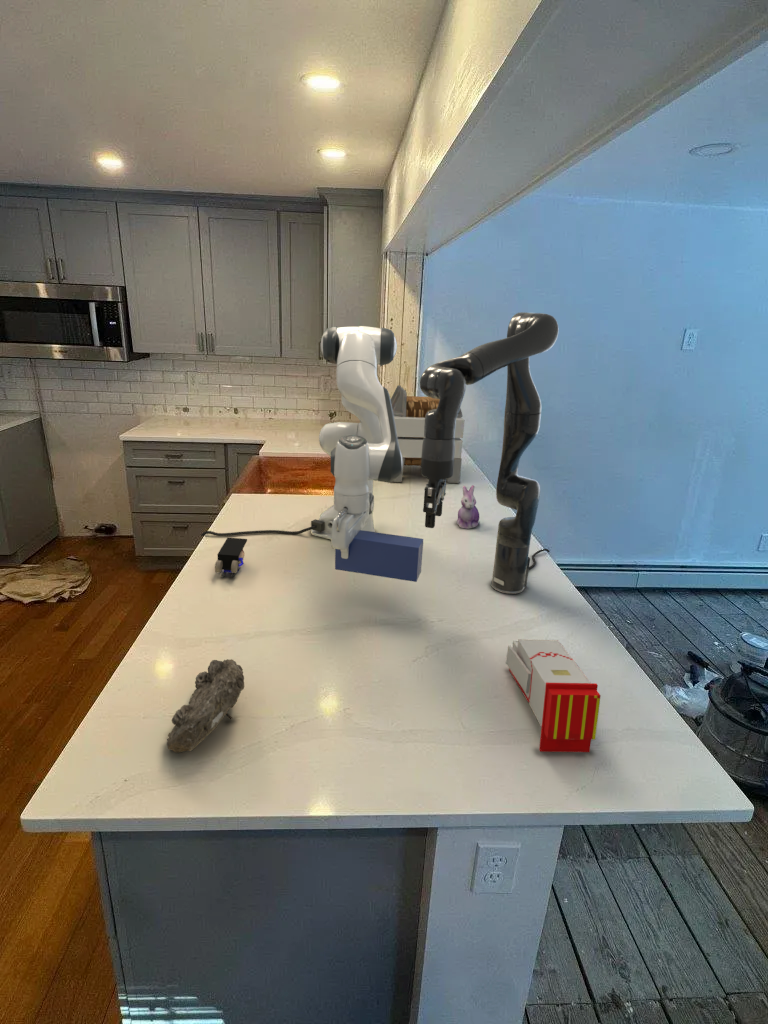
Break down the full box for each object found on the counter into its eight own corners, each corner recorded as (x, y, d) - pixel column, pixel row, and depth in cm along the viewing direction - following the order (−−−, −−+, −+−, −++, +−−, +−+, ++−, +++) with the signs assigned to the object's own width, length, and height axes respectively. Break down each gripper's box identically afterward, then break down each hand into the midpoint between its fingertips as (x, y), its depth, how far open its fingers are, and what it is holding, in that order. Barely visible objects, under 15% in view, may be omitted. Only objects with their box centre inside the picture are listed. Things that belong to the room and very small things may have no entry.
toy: (554, 622, 128) (610, 691, 98) (548, 677, 130) (601, 759, 101) (501, 621, 127) (541, 690, 98) (496, 676, 130) (534, 758, 101)
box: (334, 569, 146) (335, 535, 143) (342, 560, 152) (342, 527, 148) (416, 582, 141) (418, 547, 138) (421, 572, 147) (423, 538, 144)
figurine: (465, 531, 205) (469, 491, 200) (449, 521, 213) (452, 483, 208) (486, 527, 209) (490, 488, 204) (470, 518, 217) (473, 481, 212)
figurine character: (238, 584, 162) (249, 557, 175) (236, 562, 158) (247, 536, 172) (215, 584, 161) (227, 556, 175) (212, 561, 158) (225, 535, 171)
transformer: (382, 463, 289) (386, 382, 275) (445, 464, 293) (451, 384, 279) (390, 482, 257) (394, 392, 243) (460, 483, 261) (468, 394, 247)
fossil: (192, 660, 117) (244, 628, 112) (224, 691, 120) (276, 661, 115) (142, 746, 98) (202, 712, 93) (182, 779, 101) (242, 748, 96)
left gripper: (350, 517, 132) (349, 570, 137) (374, 491, 151) (372, 539, 155) (324, 513, 133) (324, 566, 138) (351, 488, 152) (350, 535, 157)
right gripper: (448, 465, 123) (443, 534, 129) (459, 450, 136) (454, 513, 142) (414, 461, 125) (411, 529, 131) (428, 447, 138) (424, 509, 144)
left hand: (349, 551), depth 147 cm, fingers closed on box, 6 cm apart
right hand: (433, 521), depth 136 cm, fingers open, 8 cm apart
